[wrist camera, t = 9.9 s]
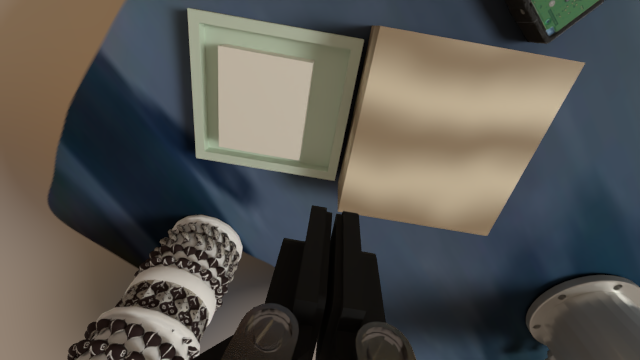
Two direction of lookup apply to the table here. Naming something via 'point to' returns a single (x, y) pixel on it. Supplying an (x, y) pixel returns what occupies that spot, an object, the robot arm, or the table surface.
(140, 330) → the decorative candle
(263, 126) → the cream tile
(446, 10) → the table surface
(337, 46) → the sage tray
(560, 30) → the disk drive
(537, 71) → the board
